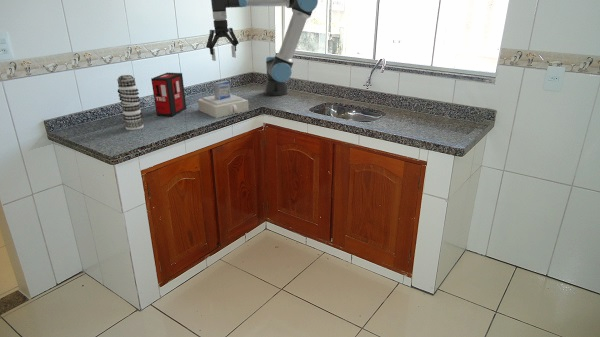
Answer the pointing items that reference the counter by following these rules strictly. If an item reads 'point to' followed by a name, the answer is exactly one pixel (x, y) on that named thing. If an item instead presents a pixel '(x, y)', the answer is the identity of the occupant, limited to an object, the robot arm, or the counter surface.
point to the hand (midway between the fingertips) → (224, 58)
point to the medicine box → (221, 90)
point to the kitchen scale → (223, 105)
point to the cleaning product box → (169, 94)
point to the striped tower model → (130, 102)
